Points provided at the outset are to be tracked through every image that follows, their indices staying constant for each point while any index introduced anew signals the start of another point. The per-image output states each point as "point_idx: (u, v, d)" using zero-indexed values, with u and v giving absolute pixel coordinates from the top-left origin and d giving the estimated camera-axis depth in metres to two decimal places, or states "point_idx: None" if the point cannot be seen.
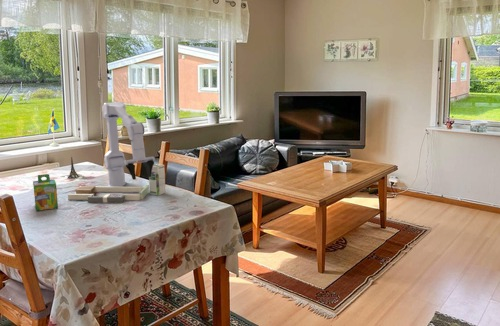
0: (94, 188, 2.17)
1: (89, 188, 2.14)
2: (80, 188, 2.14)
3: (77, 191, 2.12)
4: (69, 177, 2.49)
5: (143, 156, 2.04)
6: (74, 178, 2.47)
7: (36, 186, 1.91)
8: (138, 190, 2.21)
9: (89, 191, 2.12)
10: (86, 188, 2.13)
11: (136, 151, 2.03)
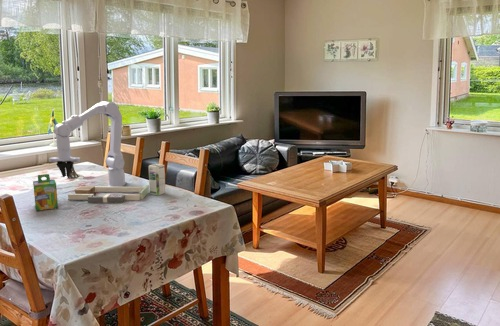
0: (93, 188, 2.16)
1: (88, 188, 2.14)
2: (79, 188, 2.14)
3: (76, 191, 2.11)
4: (69, 177, 2.49)
5: (64, 157, 2.09)
6: (74, 178, 2.46)
7: (36, 186, 1.91)
8: (138, 190, 2.21)
9: (88, 191, 2.11)
10: (85, 189, 2.13)
11: (58, 151, 2.09)
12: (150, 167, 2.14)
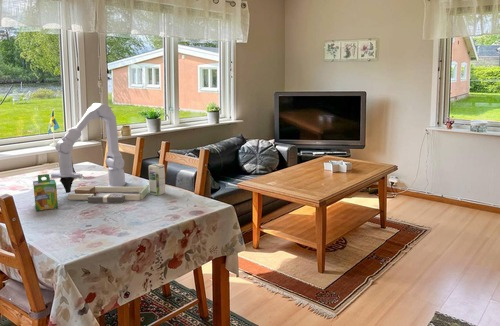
0: (93, 188, 2.16)
1: (88, 188, 2.14)
2: (79, 188, 2.14)
3: (76, 191, 2.12)
4: None
5: (66, 173, 2.11)
6: (74, 178, 2.46)
7: (36, 186, 1.91)
8: (138, 190, 2.21)
9: (87, 191, 2.11)
10: (85, 189, 2.13)
11: (60, 167, 2.11)
12: (150, 167, 2.14)
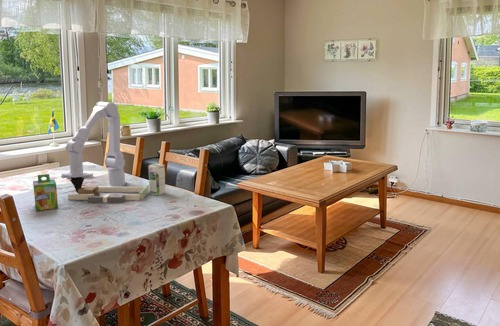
0: (96, 188, 2.16)
1: (91, 188, 2.14)
2: (82, 188, 2.14)
3: (79, 191, 2.11)
4: None
5: (76, 173, 2.11)
6: None
7: (36, 186, 1.91)
8: (138, 190, 2.21)
9: (91, 191, 2.11)
10: (88, 188, 2.13)
11: (70, 167, 2.11)
12: (150, 167, 2.14)
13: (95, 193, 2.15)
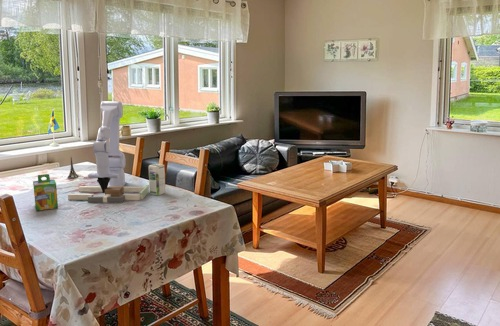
0: (122, 188, 2.16)
1: (118, 188, 2.13)
2: (109, 188, 2.13)
3: (106, 191, 2.11)
4: None
5: (103, 173, 2.10)
6: (74, 178, 2.46)
7: (36, 186, 1.91)
8: (138, 190, 2.21)
9: (118, 191, 2.11)
10: (114, 188, 2.13)
11: (97, 168, 2.10)
12: (150, 167, 2.14)
13: (121, 193, 2.15)
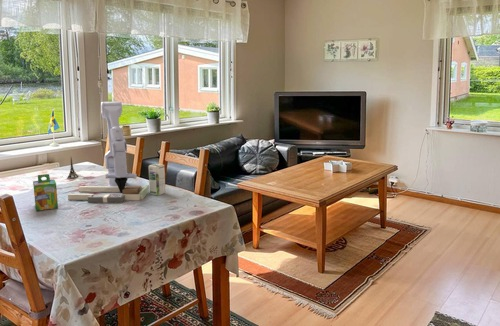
0: (140, 188, 2.16)
1: (135, 188, 2.13)
2: (126, 188, 2.13)
3: (124, 191, 2.11)
4: None
5: (121, 173, 2.10)
6: (73, 178, 2.46)
7: (36, 186, 1.91)
8: None
9: (136, 191, 2.11)
10: (132, 188, 2.13)
11: (115, 168, 2.10)
12: (150, 167, 2.14)
13: None
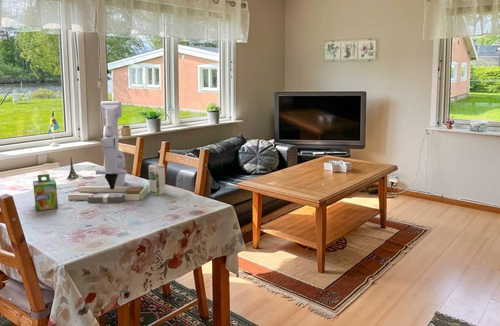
0: (142, 188, 2.16)
1: (138, 188, 2.14)
2: (129, 188, 2.13)
3: (127, 191, 2.11)
4: (68, 177, 2.48)
5: (111, 170, 2.10)
6: (74, 178, 2.46)
7: (36, 186, 1.91)
8: None
9: (139, 191, 2.11)
10: (135, 189, 2.13)
11: (105, 164, 2.10)
12: (150, 167, 2.14)
13: None
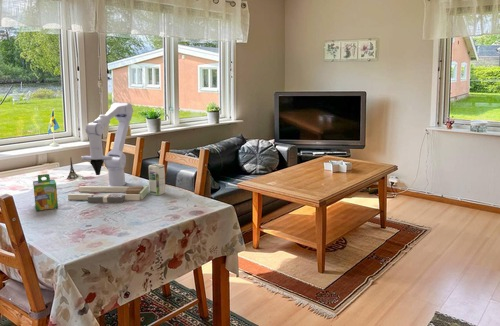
0: (142, 188, 2.17)
1: (138, 188, 2.14)
2: (129, 188, 2.13)
3: (127, 191, 2.11)
4: (68, 177, 2.48)
5: (96, 155, 2.13)
6: (73, 178, 2.46)
7: (36, 186, 1.91)
8: None
9: (139, 191, 2.11)
10: (135, 189, 2.13)
11: (90, 150, 2.13)
12: (150, 167, 2.14)
13: None
